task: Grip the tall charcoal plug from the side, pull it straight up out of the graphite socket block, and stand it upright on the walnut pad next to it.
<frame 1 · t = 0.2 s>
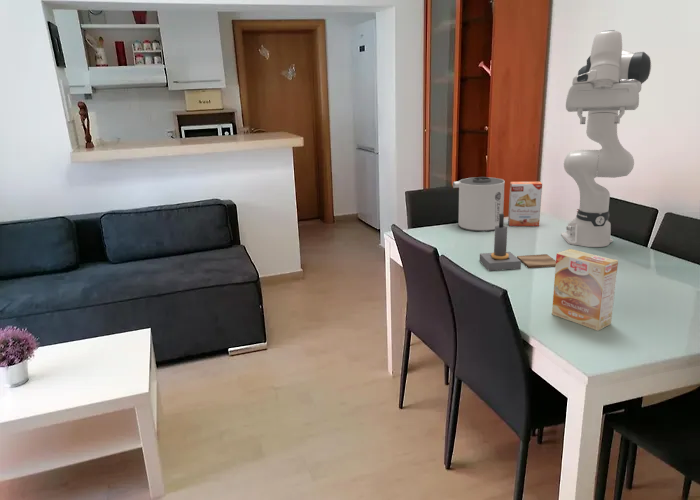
hand: (599, 123, 160), 54 cm above the table, tool tilted 30°, fingers open, 8 cm apart
socket block: (499, 264, 203), on the table
cracker box: (523, 225, 256), on the table
coffeecake box: (580, 320, 155), on the table
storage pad: (537, 262, 204), on the table
plug: (500, 239, 200), in the socket block
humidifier: (476, 226, 259), on the table
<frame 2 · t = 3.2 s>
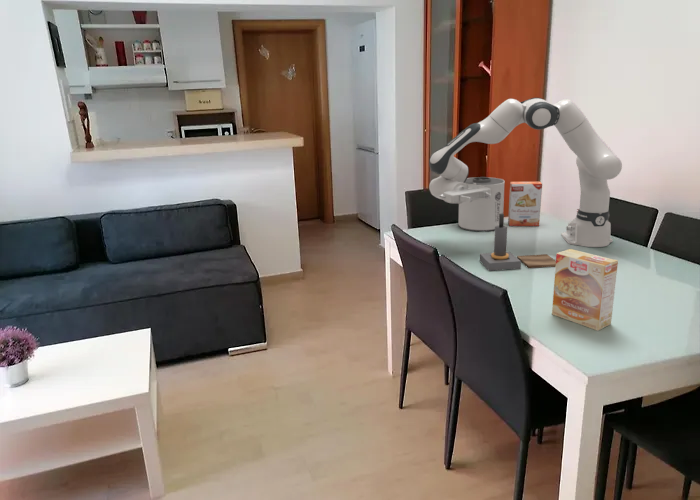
hand: (480, 198, 206), 24 cm above the table, tool horizontal, fingers open, 8 cm apart
nothing on the table moved.
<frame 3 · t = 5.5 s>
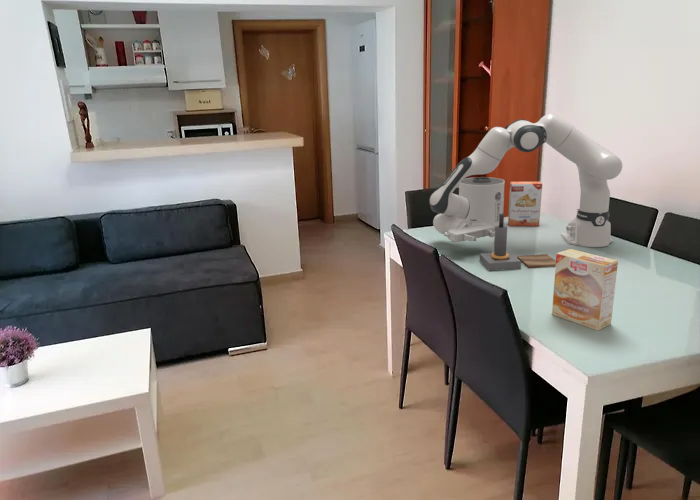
hand: (483, 237, 209), 9 cm above the table, tool horizontal, fingers open, 8 cm apart
nothing on the table moved.
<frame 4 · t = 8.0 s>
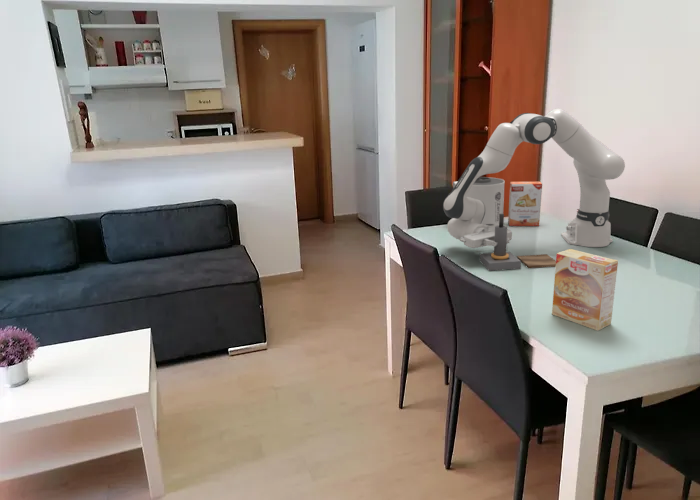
hand: (502, 242, 200), 9 cm above the table, tool horizontal, fingers closed on plug, 4 cm apart
plug: (500, 239, 200), in the socket block, touching gripper
everything else where it was.
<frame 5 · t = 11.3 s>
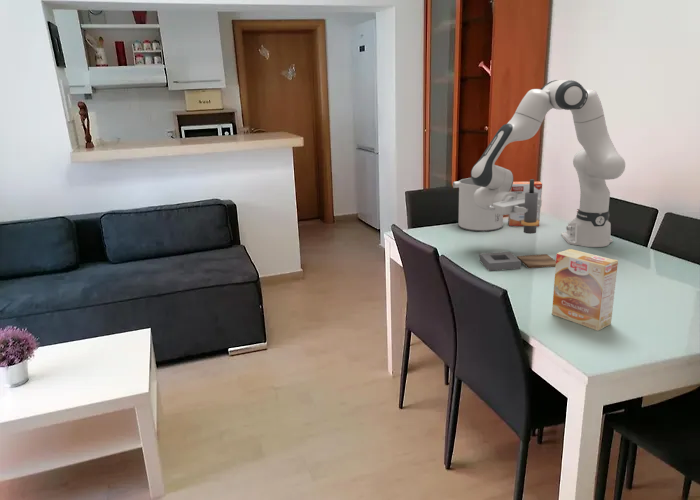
hand: (532, 209, 197), 21 cm above the table, tool horizontal, fingers closed on plug, 4 cm apart
plug: (530, 206, 197), point 22 cm above the table, touching gripper
everything else where it was.
when the fingers open (11 cm above the table, at t = 14.6 s): plug drops 1 cm, resting on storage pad.
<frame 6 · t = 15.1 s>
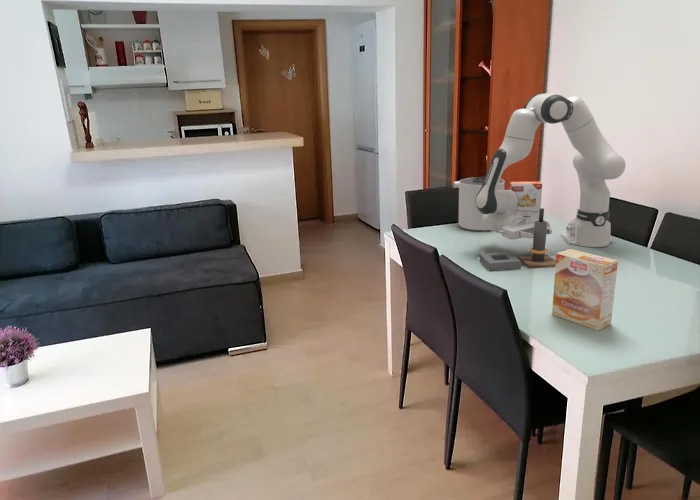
hand: (541, 234, 200), 11 cm above the table, tool horizontal, fingers open, 8 cm apart
plug: (539, 234, 201), on the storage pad, point 11 cm above the table
everything else where it was.
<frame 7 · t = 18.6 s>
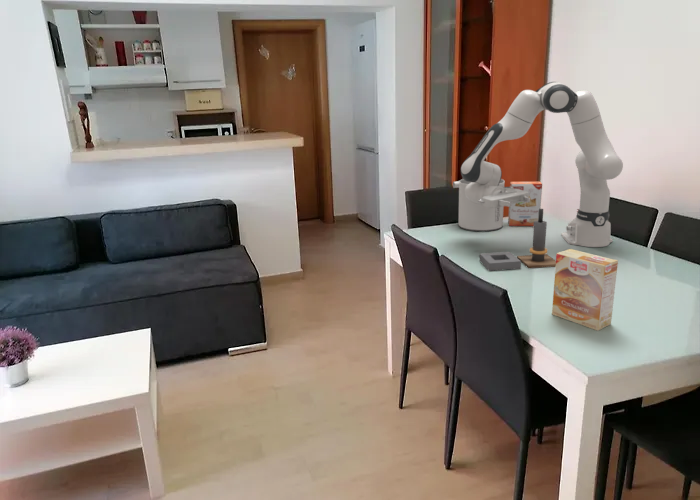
hand: (519, 202, 207), 22 cm above the table, tool horizontal, fingers open, 8 cm apart
nothing on the table moved.
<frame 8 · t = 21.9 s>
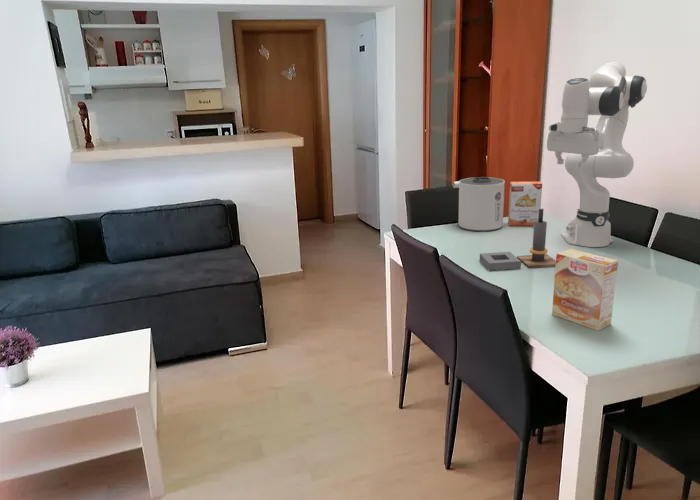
hand: (570, 165, 191), 37 cm above the table, tool pointing down, fingers open, 8 cm apart
nothing on the table moved.
at the end: plug inside the target area on the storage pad (0.0 cm from its centre), point 11.0 cm above the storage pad's base; plug tilted 0°; the gripper is holding nothing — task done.
